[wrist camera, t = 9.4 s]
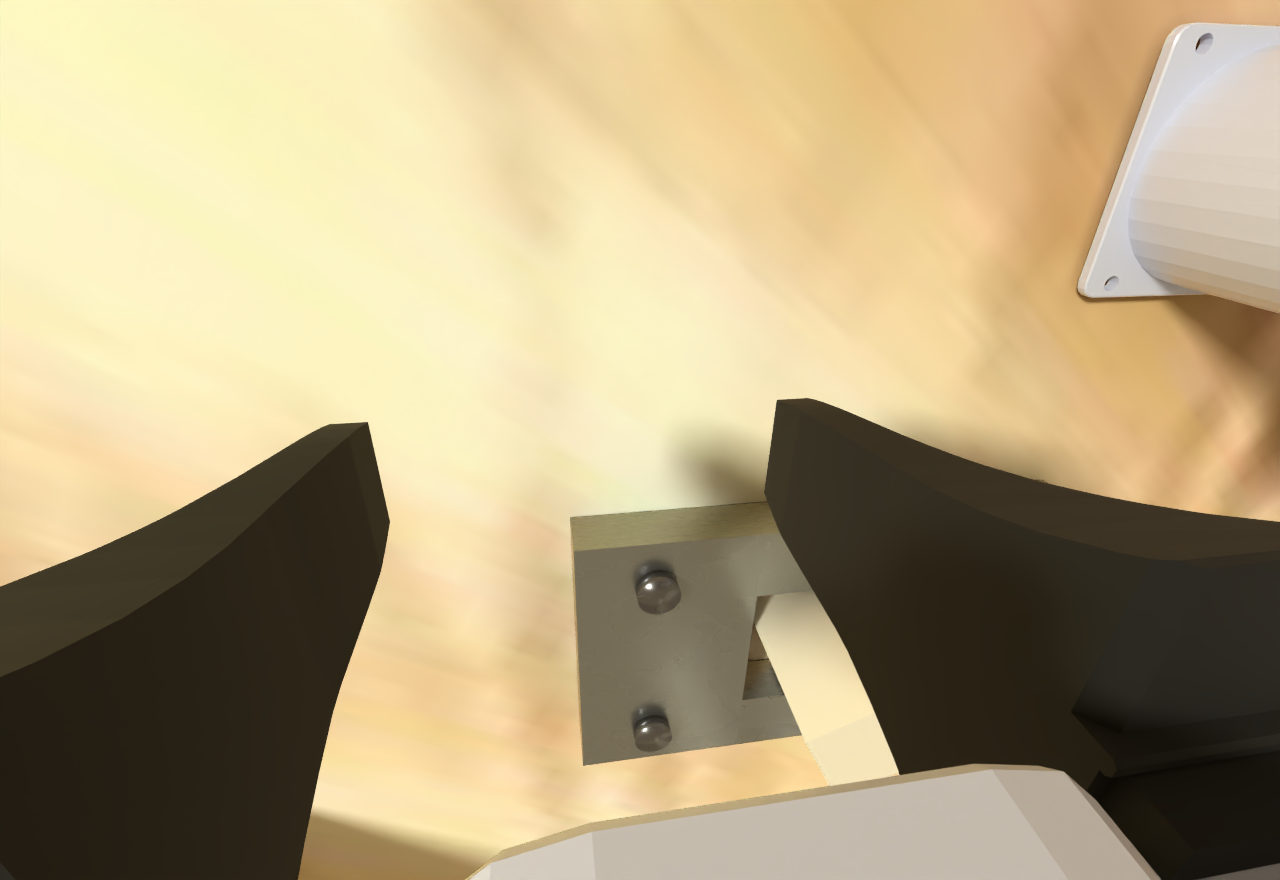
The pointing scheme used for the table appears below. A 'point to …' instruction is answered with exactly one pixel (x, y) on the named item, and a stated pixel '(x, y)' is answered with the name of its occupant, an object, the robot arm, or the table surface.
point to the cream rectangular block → (823, 688)
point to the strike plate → (677, 629)
